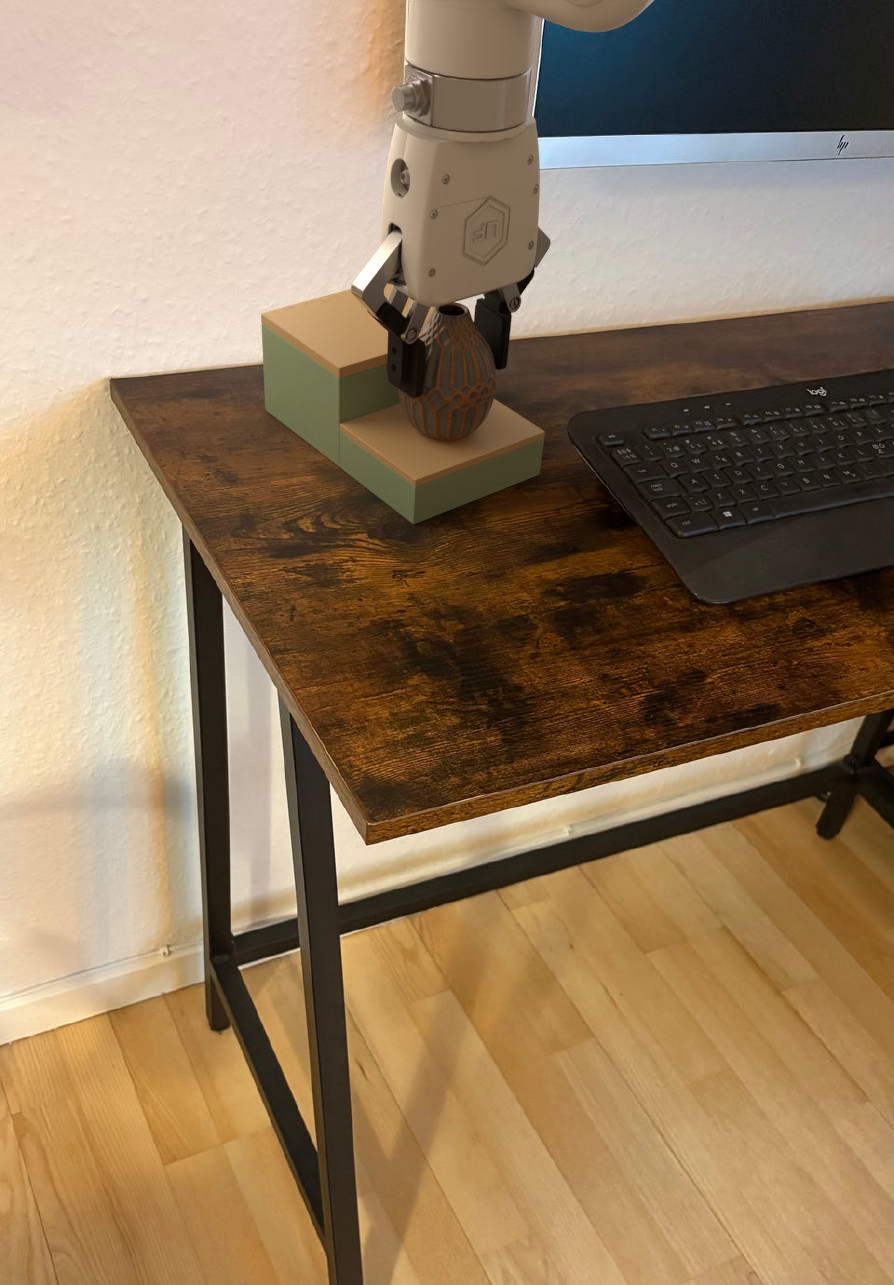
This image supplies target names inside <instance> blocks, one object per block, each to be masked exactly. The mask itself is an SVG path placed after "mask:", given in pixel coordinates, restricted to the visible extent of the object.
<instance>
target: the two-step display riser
mask: <svg viewBox="0 0 894 1285" xmlns="http://www.w3.org/2000/svg"><path fill="white" fill-rule="evenodd" d="M392 287H393V285H392V284H388V283H387V285H386V286H385V288H384V296H385V297H386V298H387V300H388V297H389V294H390V292H391V289H392ZM412 301H413V299H411V298H409V297H408V300H407V303H406V305H405V308H404V310H403V313H402V315H403V316H404V317H405V318H406V316H407V314H408V311H409V309H410V306H411V304H412ZM434 308H435V307H430V309H429V312H428V314H427V317H426V319H425V322H426V321H427V320H428V319H429V317H430V315H431V313H432V311H433V309H434ZM260 319H261V320H260V323H261V346H262V364H263V365H262V367H263V368H262V370H263V384H264V385H263V386H264V387H263V388H264V409H265V411H266V412H267V413H268V414H270V415H271V416H272V417H274V418H275V419H276V420H278V421H279V422H280V423H282V424H283V425H284V426H285V427H287V428H288V429H289V430H290V431H292V432H293V433H294V434H296V436H298V437H300V438H301V439H302V440H303V441H305V442H306V443H307V444H309V445H310V446H311V447H313V448H314V449H315V450H317V451H318V452H319V453H320V454H322V455H323V456H324V457H326V458H327V460H329V461H331V462H332V463H333V464H335V465H336V466H337V467H338V468H339V469H341V470H342V471H343V472H345V473H346V474H347V475H349V476H350V477H351V478H353V479H354V480H355V481H357V482H358V483H359V484H360V485H362V486H363V487H364V488H366V490H368V491H370V493H372V494H373V495H375V496H376V497H377V498H378V499H380V500H381V501H382V502H384V503H385V504H386V505H387V506H389V507H390V508H392V509H393V510H394V511H395V512H397V513H398V514H399V515H400V516H402V517H403V518H405V519H406V520H407V522H409V523H411V524H412V525H416V524H419V523H421V522H423V521H426V520H428V519H431V518H434V517H436V516H439V515H441V514H444V513H446V512H449V511H451V510H453V509H454V510H455V509H456V508H459V507H461V506H464V505H466V504H470V503H472V502H474V501H476V500H480V499H482V498H485V497H487V496H489V495H491V494H495V493H496V492H500V491H502V490H505V489H507V488H510V487H512V486H515V485H517V484H520V483H522V482H525V481H527V480H530V479H532V478H535V477H537V476H539V475H540V472H541V467H542V466H541V465H542V458H543V450H544V444H545V443H544V442H545V435H546V432H545V430H543V429H542V428H540V427H539V426H537V425H536V424H534V423H533V422H531V421H529V420H528V419H526V418H525V417H523V416H522V415H520V414H519V413H517V412H516V411H514V410H512V409H511V408H509V407H508V406H506V405H505V404H503V403H502V402H500V401H499V400H497V399H495V398H494V400H493V403H492V406H491V409H490V411H489V413H488V415H487V417H486V419H485V420H484V422H483V423H482V424H481V425H480V426H479V427H478V428H477V429H476V430H475V431H474V432H472V433H471V434H469V435H468V436H466V437H464V438H462V439H459V440H454V441H440V440H434V439H431V438H428V437H426V436H424V435H423V434H421V433H420V432H419V431H418V430H417V429H416V428H415V427H414V426H413V425H412V424H411V423H410V422H409V420H408V419H407V417H406V416H405V414H404V411H403V409H402V406H401V402H400V398H399V392H398V388H397V387H395V386H394V385H392V384H391V383H390V382H389V380H388V374H387V351H388V331H387V330H386V329H384V328H383V327H381V325H380V323H378V322H377V321H376V320H375V319H374V318H373V317H372V316H371V315H370V314H369V313H368V312H367V309H366V308H365V307H364V306H363V305H362V304H361V303H360V302H359V301H358V300H357V298H356V297H355V296H354V295H353V294H352V292H351V288H350V289H345V290H341V291H338V292H334V293H331V294H328V295H327V294H326V295H324V296H320V297H317V298H313V299H309V300H305V301H301V302H298V303H294V304H289V305H287V306H283V307H279V308H276V309H272V310H268V311H264V312H261V313H260ZM425 322H424V323H425Z"/></svg>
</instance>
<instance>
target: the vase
mask: <svg viewBox="0 0 894 1285" xmlns="http://www.w3.org/2000/svg"><path fill="white" fill-rule="evenodd" d="M418 338H419V339H421V340H422V341H424V342H425V365H424V385H423V393H422V395H421V396H420V397H417V398H414V399H413V398H411V397H410V396H408V395H407V394H406V393H404V392H403V391H401V390H400V389H398V392H399V398H400V402H401V406H402V409H403V411H404V414H405V416H406V417H407V419H408V420H409V422H410V423H411V424H412V425H413V426H414V427H415V428H416V429H417V430H418V431H419V432H420V433H421V434H423V435H424V436H426V437H428V438H431V439H434V440H440V441H454V440H459V439H462V438H464V437H466V436H468V435H469V434H471V433H472V432H474V431H475V430H476V429H477V428H478V427H479V426H480V425H481V424H482V423H483V422H484V420H485V419H486V417H487V415H488V413H489V411H490V409H491V406H492V403H493V400H494V399H495V394H496V388H497V369H496V368H495V362H494V358H493V354H492V351H491V349H490V347H489V345H488V343H487V341H486V340H485V338H484V337H483V335H482V334H481V332H480V331H479V329H478V328H477V327H476V325H475V324H474V318H473V317H472V313H471V310H470V309H469V307H468V306H466V305H465V304H463V303H460V302H457V301H456V302H453V303H449V304H446V305H442V306H437V307H435V308H434V309H433V311H432V313H431V315H430V317H429V319H428V320H427V321H426V322H425V323H424V324H423V327H422V329H421V332H420V334H419V337H418Z"/></svg>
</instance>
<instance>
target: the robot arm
mask: <svg viewBox="0 0 894 1285" xmlns="http://www.w3.org/2000/svg"><path fill="white" fill-rule="evenodd" d="M654 1H655V0H406V1H405V2H406V3H405V28H404V29H405V30H404V32H405V34H404V37H405V38H404V58H403V59H404V62H403V64H404V65H403V82H402V83H401V84H399V85H395V86H393V88H392V89H391V92H390V101H391V105H392V108H393V109H394V110H395V111H396V112H397V113H400V112H402V118H399V119H397V120H396V121H395V124H394V129H393V133H392V138H391V142H390V147H389V152H388V158H387V163H386V169H385V170H386V171H385V177H384V185H383V193H382V204H381V214H380V228H379V229H380V231H379V234H380V235H379V248H377V250H376V252H375V253H374V254H373V255H372V257H371V258H370V259H369V260H368V262H367V263H366V265H365V266H364V267H363V268H362V270H361V271H360V272H359V274H358V275H357V276H356V277H355V279H354V280H353V282H352V283H351V286H350V289H351V292H352V294H353V295H354V296H355V297H356V298H357V300H358V301H359V302H360V303H361V304H362V305H363V306H364V307H365V308H366V309H367V312H368V313H369V314H370V315H371V316H372V317H373V318H374V319H375V320H376V321H377V322H378V323H380V325H381V327H383V328H384V329H386V330H387V331H388V351H387V374H388V380H389V382H390V383H391V384H392V385H394V386H395V387H397V388H398V389H400V390H401V391H403V392H404V393H406V394H407V395H408V396H410V397H411V398H413V399H414V398H417V397H420V396H421V395H422V393H423V385H424V365H425V342H424V341H422V340H421V339H419V338H418V337H419V334H420V332H421V329H422V327H423V324H424V322H425V319H426V317H427V314H428V312H429V309H430V307H437V306H442V305H446V304H449V303H453V302H456V303H457V302H460V301H463V300H467V299H470V298H474V297H478V296H481V295H483V297H484V298H483V297H480V298H476V301H475V302H476V303H475V305H474V315H473V316H474V317H473V322H474V324H475V325H476V327H477V328H478V329H479V331H480V332H481V334H482V335H483V337H484V338H485V340H486V341H487V343H488V345H489V347H490V349H491V351H492V354H493V358H494V362H495V368H496V371H501V370H504V369H506V368H507V367H508V360H509V359H508V358H509V348H510V338H511V327H512V318H513V315H512V314H513V313H516V312H518V310H519V309H520V308H521V305H522V297H521V296H522V295H523V293H524V292H525V290H526V289H527V287H528V286H529V285H530V283H531V282H532V281H533V278H534V277H535V272H536V271H535V269H536V268H538V267H539V265H540V263H541V262H542V260H543V258H544V257H545V256H546V254H547V253H548V251H549V249H550V247H551V244H552V241H551V239H550V237H549V236H548V235H547V234H546V233H545V232H544V231H543V230H542V228H540V226H539V218H540V217H539V216H540V199H541V198H540V196H541V195H540V194H541V192H540V191H541V169H540V166H541V164H540V163H541V162H540V147H539V136H538V130H537V121H536V118H535V117H534V116H533V115H532V114H530V113H528V112H529V101H530V91H531V81H532V80H531V79H532V70H533V61H534V51H535V39H536V32H537V31H536V30H537V20H538V18H540V19H543V20H545V21H547V22H551V23H553V24H555V25H558V26H562V27H564V28H568V29H571V30H574V31H578V32H586V33H605V32H609V31H612V30H616V29H618V28H621V27H623V26H625V25H627V24H628V23H629V22H632V21H633V20H634V19H635V18H636V17H638V16H639V15H641V13H642V12H643V11H645V9H647V8H648V7H649V6H651V4H652V3H654ZM387 283H388V284H392V285H393V287H392V289H391V292H390V294H389V297H388V300H387V298H386V297H385V296H384V288H385V286H386V285H387ZM408 297H409V298H411V299H413V301H412V304H411V306H410V309H409V311H408V314H407V316H406V318H405V317H404V316H403V315H402V313H403V310H404V308H405V305H406V303H407V300H408Z"/></svg>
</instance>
